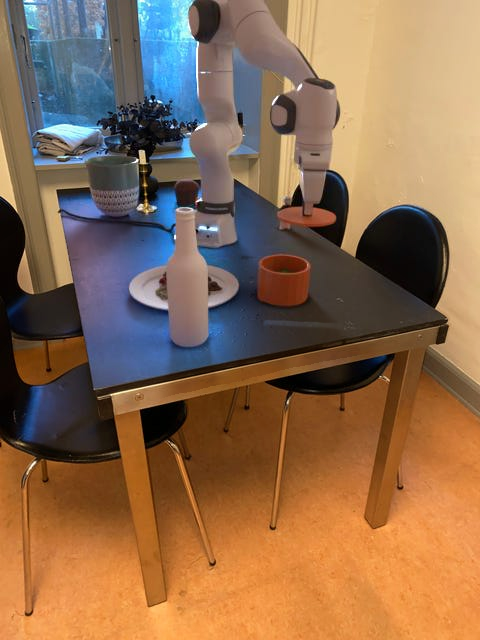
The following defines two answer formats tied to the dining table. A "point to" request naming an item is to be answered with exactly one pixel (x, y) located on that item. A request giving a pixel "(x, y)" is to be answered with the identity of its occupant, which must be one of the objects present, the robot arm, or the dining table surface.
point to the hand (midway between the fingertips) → (306, 211)
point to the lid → (306, 217)
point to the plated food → (154, 287)
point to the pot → (283, 280)
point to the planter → (113, 183)
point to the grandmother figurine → (287, 205)
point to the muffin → (186, 192)
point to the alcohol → (187, 285)
